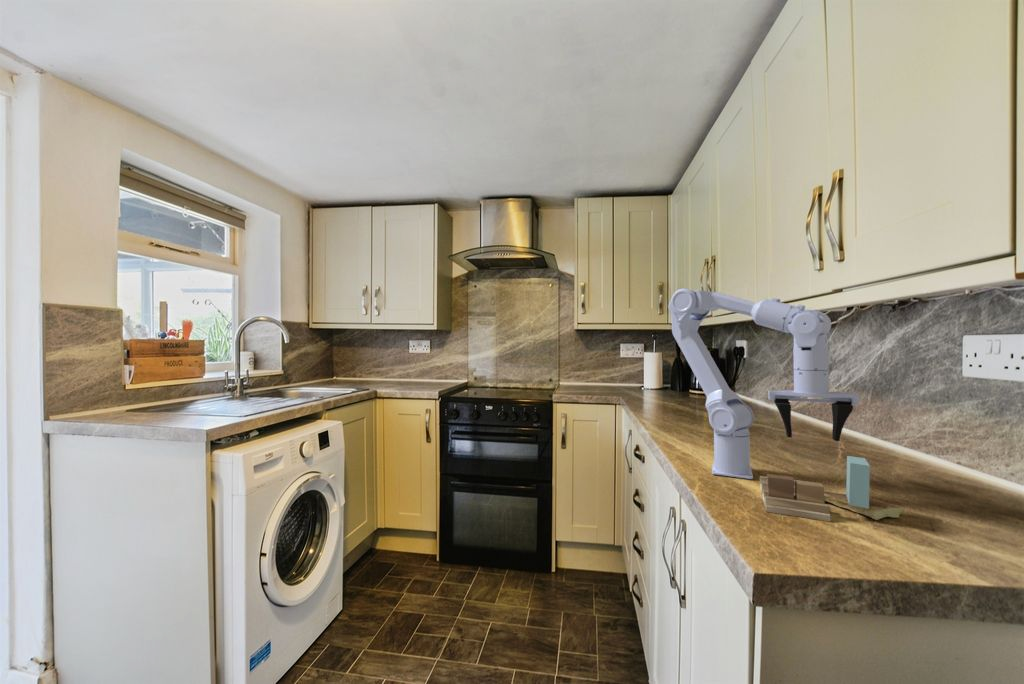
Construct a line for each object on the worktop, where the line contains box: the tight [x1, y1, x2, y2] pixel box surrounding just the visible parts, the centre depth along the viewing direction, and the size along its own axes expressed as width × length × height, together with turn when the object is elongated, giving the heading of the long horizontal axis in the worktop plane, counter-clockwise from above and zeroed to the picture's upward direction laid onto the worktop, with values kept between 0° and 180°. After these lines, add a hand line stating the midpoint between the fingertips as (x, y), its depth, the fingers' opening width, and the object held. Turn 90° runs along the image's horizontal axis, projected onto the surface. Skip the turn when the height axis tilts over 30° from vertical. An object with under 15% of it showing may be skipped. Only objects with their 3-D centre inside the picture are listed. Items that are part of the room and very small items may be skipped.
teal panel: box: [845, 455, 871, 509], centre depth 71 cm, size 2×7×7 cm, turn 144°
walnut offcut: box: [766, 473, 795, 500], centre depth 73 cm, size 2×4×4 cm, turn 63°
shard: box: [824, 491, 903, 521], centre depth 74 cm, size 11×8×2 cm
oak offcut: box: [794, 479, 825, 504], centre depth 71 cm, size 2×4×4 cm, turn 63°
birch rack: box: [759, 475, 831, 523], centre depth 76 cm, size 15×9×2 cm, turn 153°
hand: (812, 438), depth 82 cm, fingers open, 7 cm apart
